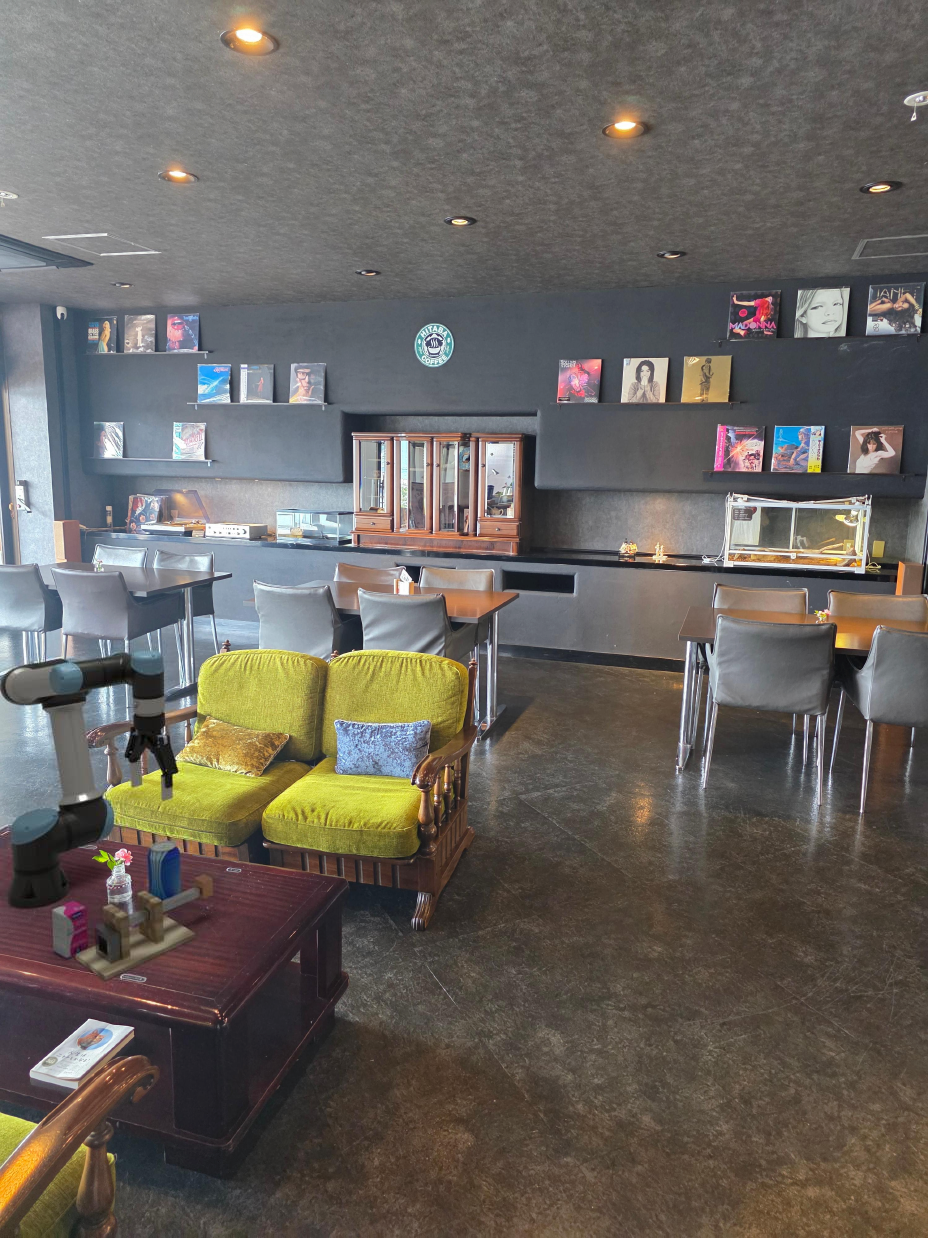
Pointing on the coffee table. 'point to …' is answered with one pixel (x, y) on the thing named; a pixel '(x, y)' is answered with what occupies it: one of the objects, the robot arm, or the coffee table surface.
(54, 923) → the supplement box
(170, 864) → the beer can
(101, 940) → the spacer
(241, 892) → the coffee table surface
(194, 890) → the shaft
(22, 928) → the coffee table surface
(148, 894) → the bearing stand
